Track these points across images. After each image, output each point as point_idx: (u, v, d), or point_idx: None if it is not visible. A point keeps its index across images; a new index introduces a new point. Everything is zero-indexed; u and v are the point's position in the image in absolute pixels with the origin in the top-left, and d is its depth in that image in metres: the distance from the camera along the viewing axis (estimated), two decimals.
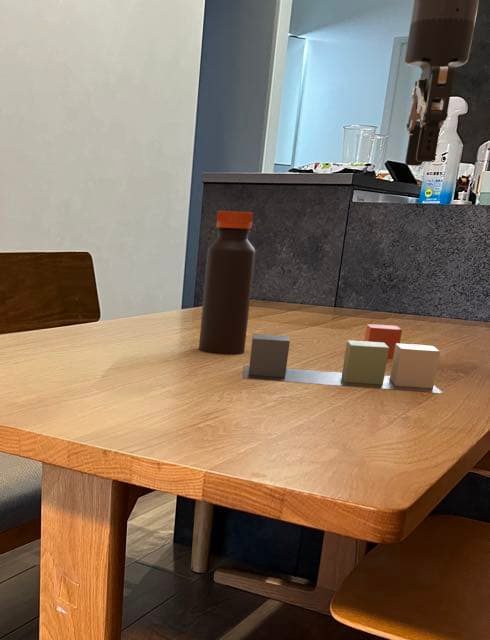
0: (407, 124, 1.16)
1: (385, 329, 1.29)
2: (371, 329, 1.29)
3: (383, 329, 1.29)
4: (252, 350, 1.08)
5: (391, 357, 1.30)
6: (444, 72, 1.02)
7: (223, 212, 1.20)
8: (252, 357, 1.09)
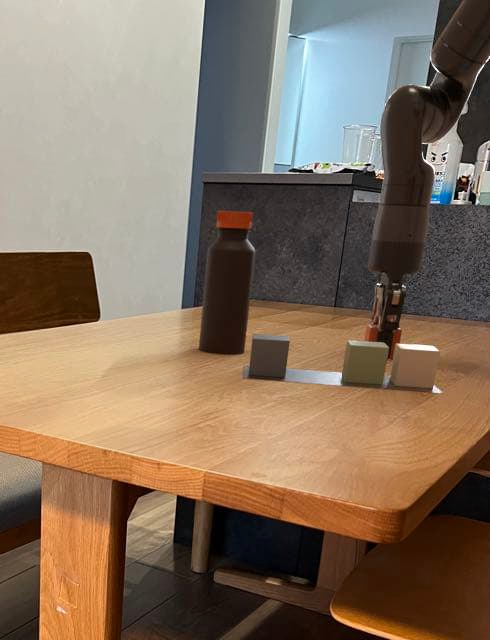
0: (372, 316, 1.35)
1: None
2: (371, 329, 1.29)
3: None
4: (252, 350, 1.08)
5: (391, 357, 1.30)
6: (397, 297, 1.23)
7: (223, 212, 1.20)
8: (252, 357, 1.09)
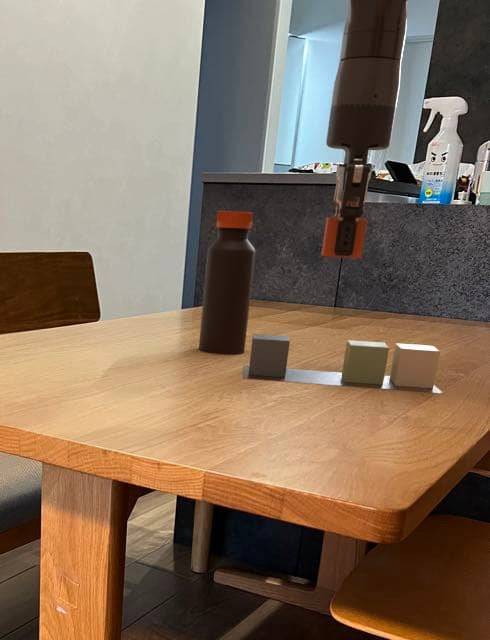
0: (334, 210, 1.11)
1: None
2: (329, 219, 1.06)
3: None
4: (252, 350, 1.08)
5: (354, 254, 1.06)
6: (359, 172, 0.99)
7: (223, 212, 1.20)
8: (252, 357, 1.09)
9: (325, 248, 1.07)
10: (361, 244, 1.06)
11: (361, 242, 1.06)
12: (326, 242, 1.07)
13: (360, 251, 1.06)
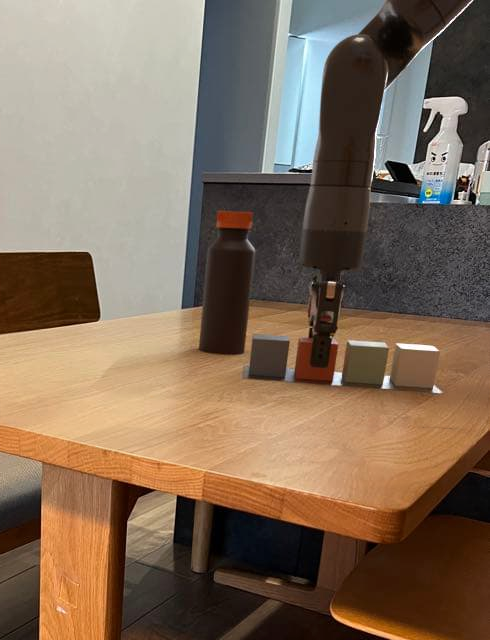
0: (308, 314, 1.14)
1: None
2: (301, 344, 1.07)
3: None
4: (252, 350, 1.08)
5: (326, 377, 1.08)
6: (332, 287, 1.00)
7: (223, 212, 1.20)
8: (252, 357, 1.09)
9: (297, 371, 1.08)
10: (333, 368, 1.07)
11: (333, 366, 1.07)
12: (298, 365, 1.08)
13: (332, 374, 1.08)
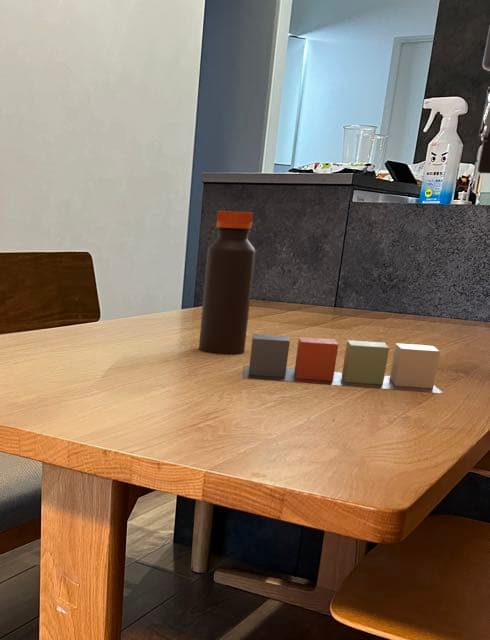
0: (480, 130, 1.12)
1: (318, 344, 1.07)
2: (301, 344, 1.07)
3: (316, 344, 1.07)
4: (252, 350, 1.08)
5: (326, 377, 1.08)
6: None
7: (223, 212, 1.20)
8: (252, 357, 1.09)
9: (297, 371, 1.08)
10: (333, 368, 1.07)
11: (333, 366, 1.07)
12: (298, 365, 1.08)
13: (332, 374, 1.08)
